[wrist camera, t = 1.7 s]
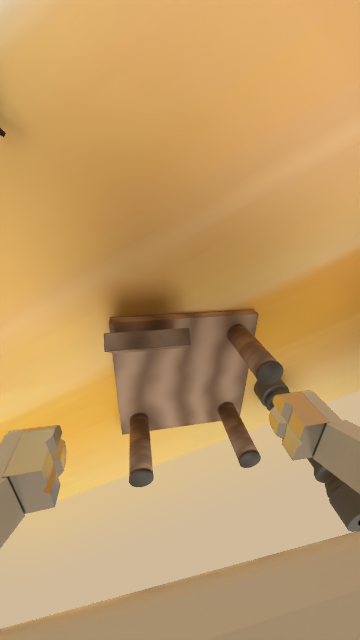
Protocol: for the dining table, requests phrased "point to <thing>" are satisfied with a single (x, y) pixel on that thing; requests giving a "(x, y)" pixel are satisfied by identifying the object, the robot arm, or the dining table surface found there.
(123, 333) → the hinged leg
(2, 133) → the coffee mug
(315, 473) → the candle holder
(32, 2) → the dining table surface
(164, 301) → the dining table surface
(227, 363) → the stool
